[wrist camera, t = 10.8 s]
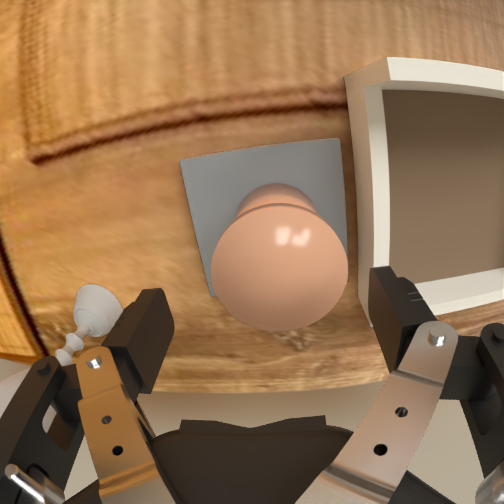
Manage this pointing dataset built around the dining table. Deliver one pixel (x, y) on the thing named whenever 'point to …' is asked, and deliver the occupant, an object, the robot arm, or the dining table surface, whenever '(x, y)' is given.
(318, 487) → the robot arm
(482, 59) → the dining table surface
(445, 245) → the drawer
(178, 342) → the dining table surface
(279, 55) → the dining table surface
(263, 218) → the tan capped cylinder
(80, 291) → the chalice
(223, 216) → the slate tile
